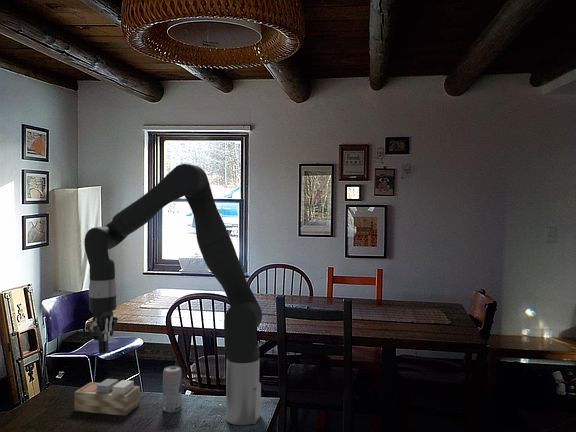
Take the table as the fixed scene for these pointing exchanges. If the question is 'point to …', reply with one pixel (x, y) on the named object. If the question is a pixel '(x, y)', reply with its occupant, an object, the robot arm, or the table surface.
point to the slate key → (106, 386)
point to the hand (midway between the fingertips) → (103, 352)
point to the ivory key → (123, 387)
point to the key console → (107, 401)
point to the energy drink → (172, 389)
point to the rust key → (91, 388)
